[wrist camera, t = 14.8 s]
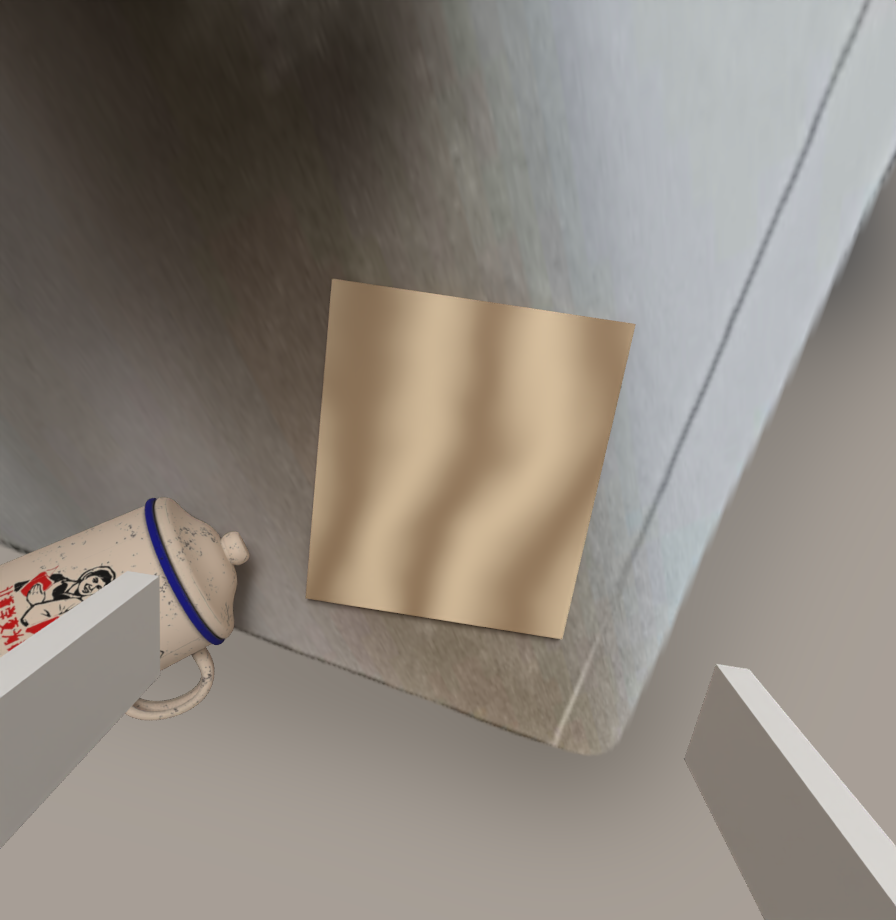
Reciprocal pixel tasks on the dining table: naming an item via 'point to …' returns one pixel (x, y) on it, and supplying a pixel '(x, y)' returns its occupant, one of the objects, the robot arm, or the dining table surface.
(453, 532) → the cork mat
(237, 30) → the dining table surface
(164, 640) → the teacup with lid
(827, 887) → the robot arm
